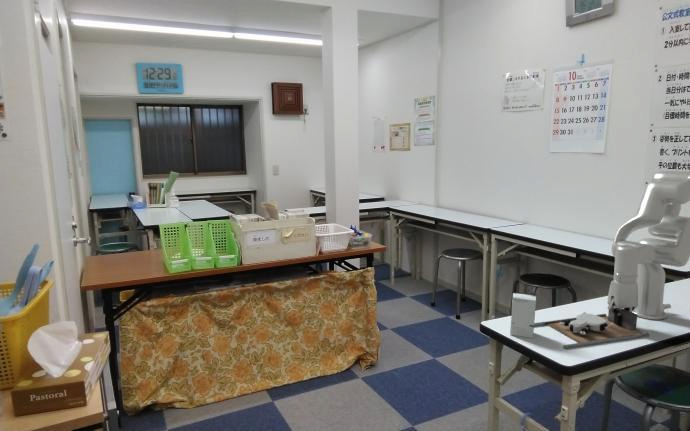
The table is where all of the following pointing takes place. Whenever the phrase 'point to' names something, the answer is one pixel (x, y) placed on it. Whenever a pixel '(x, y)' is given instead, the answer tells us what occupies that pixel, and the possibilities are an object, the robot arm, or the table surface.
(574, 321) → the robot toy
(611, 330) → the brown rectangular mat
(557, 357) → the table surface
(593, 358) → the table surface
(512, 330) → the skincare box
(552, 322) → the guide rails
